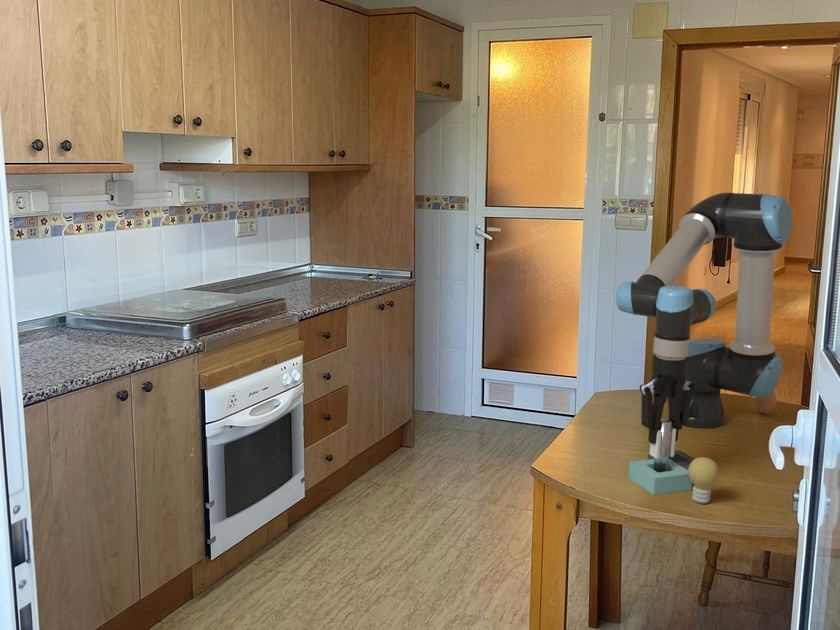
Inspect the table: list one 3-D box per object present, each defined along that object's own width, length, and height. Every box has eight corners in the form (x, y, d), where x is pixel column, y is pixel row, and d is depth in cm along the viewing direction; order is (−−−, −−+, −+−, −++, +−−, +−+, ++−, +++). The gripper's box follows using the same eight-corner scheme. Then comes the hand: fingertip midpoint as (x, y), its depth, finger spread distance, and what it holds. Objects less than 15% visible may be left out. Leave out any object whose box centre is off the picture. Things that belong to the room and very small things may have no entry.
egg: (768, 410, 247) (771, 383, 245) (778, 416, 242) (782, 388, 240) (749, 410, 246) (752, 383, 245) (760, 417, 241) (763, 389, 239)
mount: (678, 459, 207) (679, 450, 207) (701, 473, 199) (702, 463, 199) (647, 463, 204) (648, 453, 204) (669, 477, 196) (670, 467, 196)
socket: (665, 473, 199) (666, 457, 198) (691, 489, 189) (692, 473, 189) (628, 478, 195) (629, 461, 195) (653, 495, 186) (654, 478, 185)
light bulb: (684, 504, 182) (688, 461, 180) (686, 493, 187) (690, 451, 185) (715, 509, 179) (719, 465, 177) (716, 498, 185) (720, 455, 183)
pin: (661, 471, 194) (666, 417, 191) (670, 476, 191) (674, 422, 188) (650, 472, 193) (654, 419, 190) (658, 478, 190) (662, 423, 187)
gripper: (690, 349, 192) (681, 446, 197) (629, 354, 187) (621, 453, 192) (711, 357, 185) (701, 457, 190) (648, 362, 180) (640, 465, 185)
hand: (661, 455), depth 191 cm, fingers closed on pin, 3 cm apart
